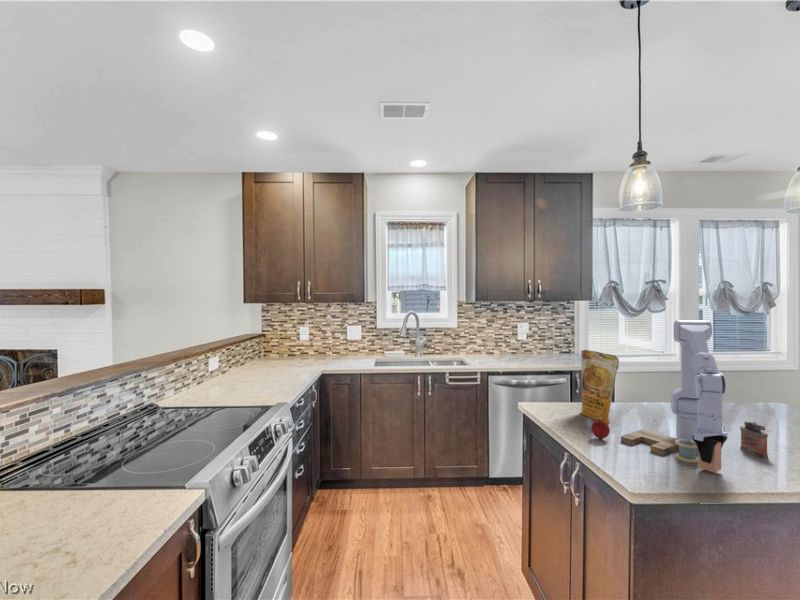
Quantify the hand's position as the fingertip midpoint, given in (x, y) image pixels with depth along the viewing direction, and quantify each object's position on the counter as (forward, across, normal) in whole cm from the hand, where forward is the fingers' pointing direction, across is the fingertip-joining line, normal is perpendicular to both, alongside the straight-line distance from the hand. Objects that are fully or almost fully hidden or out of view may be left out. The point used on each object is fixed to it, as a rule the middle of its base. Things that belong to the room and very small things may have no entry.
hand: (709, 460), depth 113 cm
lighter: (+4, +28, -1) cm, 28 cm away
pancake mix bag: (+4, +19, +48) cm, 52 cm away
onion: (+4, -3, +32) cm, 32 cm away
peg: (+2, 0, 0) cm, 2 cm away
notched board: (+3, +8, +20) cm, 22 cm away
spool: (+3, +5, +8) cm, 10 cm away
